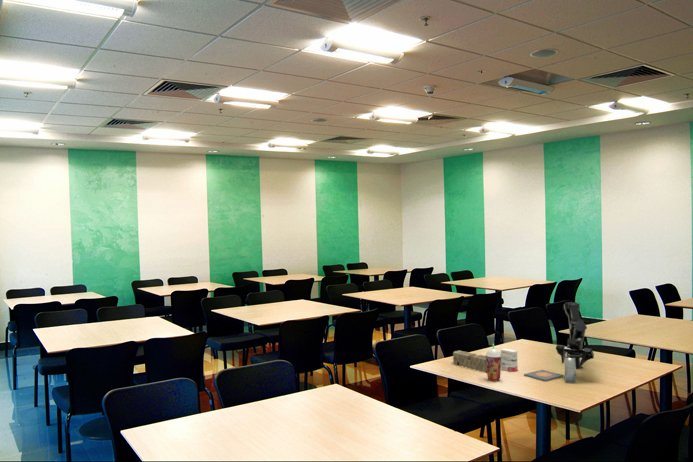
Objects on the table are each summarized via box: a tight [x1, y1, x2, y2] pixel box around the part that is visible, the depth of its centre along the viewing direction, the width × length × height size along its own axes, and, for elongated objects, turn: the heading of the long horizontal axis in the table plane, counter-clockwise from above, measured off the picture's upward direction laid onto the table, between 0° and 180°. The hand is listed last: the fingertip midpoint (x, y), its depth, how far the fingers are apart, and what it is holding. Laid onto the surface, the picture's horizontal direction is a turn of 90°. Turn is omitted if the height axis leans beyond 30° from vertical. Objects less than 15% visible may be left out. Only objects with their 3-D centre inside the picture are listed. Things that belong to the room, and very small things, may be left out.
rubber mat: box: [523, 369, 565, 382], centre depth 294 cm, size 16×14×1 cm
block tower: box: [452, 350, 487, 373], centre depth 315 cm, size 8×8×29 cm
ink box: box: [500, 348, 519, 373], centre depth 309 cm, size 8×5×12 cm, turn 39°
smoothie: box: [485, 343, 502, 382], centre depth 289 cm, size 8×8×20 cm
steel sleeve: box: [564, 356, 577, 384], centre depth 283 cm, size 6×6×13 cm
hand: (571, 364), depth 284 cm, fingers open, 9 cm apart
